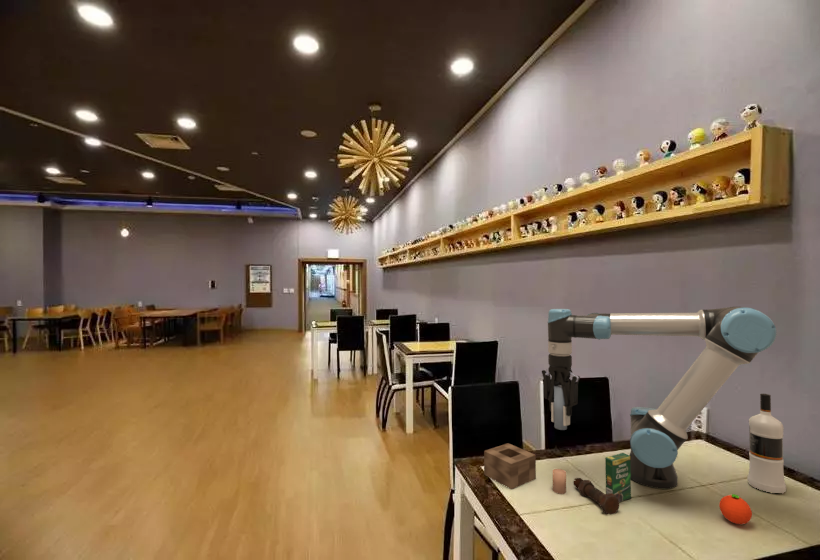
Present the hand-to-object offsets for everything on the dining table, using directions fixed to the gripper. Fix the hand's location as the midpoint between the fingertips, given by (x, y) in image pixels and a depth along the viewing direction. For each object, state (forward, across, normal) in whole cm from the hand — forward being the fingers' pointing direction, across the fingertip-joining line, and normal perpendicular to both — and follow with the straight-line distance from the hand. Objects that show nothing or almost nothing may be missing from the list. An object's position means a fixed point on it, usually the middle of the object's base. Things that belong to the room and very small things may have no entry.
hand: (560, 422), depth 135 cm
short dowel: (+18, +6, -9) cm, 21 cm away
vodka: (+19, +42, +48) cm, 66 cm away
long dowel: (+2, 0, 0) cm, 2 cm away
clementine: (+18, +43, +17) cm, 49 cm away
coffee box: (+18, +19, +1) cm, 26 cm away
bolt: (+18, +15, -5) cm, 24 cm away
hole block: (+18, -9, -15) cm, 25 cm away
